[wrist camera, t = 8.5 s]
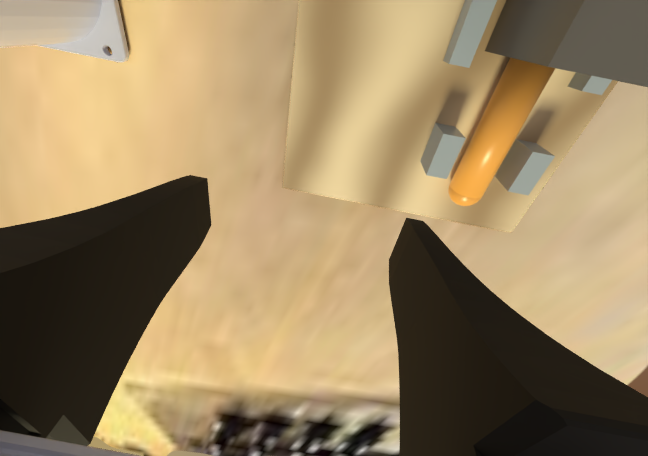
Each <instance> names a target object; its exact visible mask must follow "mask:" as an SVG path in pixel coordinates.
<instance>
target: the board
mask: <svg viewBox="0 0 648 456" xmlns="http://www.w3.org/2000/svg"><path fill="white" fill-rule="evenodd" d="M464 2H465V0H299V4H298V15H297V27H296V38H295V49H294V61H293V72H292V83H291V95H290V106H289V117H288V129H287V140H286V151H285V163H284V174H283V185H282V188H286V189H291V190H296V191H301V192H306V193H311V194H316V195H321V196H326V197H331V198H336V199H341V200H346V201H351V202H356V203H362V204H367V205H372V206H377V207H382V208H387V209H392V210H397V211H402V212H407V213H412V214H417V215H422V216H427V217H432V218H438V219H443V220H448V221H453V222H458V223H463V224H468V225H473V226H478V227H483V228H488V229H493V230H498V231H503V232H508V233H511V232H512V231H513V230H514V228H515V227H516V225H517V224H518V223H519V221H520V220H521V218H522V217H523V215H524V214H525V213H526V211H527V210H528V208H529V207H530V205H531V204H532V203H533V201H534V200H535V198H536V197H537V196H538V194H539V193H540V191H541V190H542V188H543V187H544V186H545V184H546V183H547V181H548V180H549V179H550V177H551V176H552V174H553V173H554V171H555V170H556V169H557V167H558V166H559V164H560V163H561V161H562V160H563V159H564V157H565V156H566V154H567V153H568V152H569V150H570V149H571V147H572V146H573V144H574V143H575V142H576V140H577V139H578V137H579V136H580V135H581V133H582V132H583V130H584V129H585V127H586V126H587V125H588V123H589V122H590V120H591V119H592V118H593V116H594V115H595V113H596V112H597V110H598V109H599V108H600V106H601V105H602V103H603V102H604V100H605V99H606V98H607V96H608V95H609V93H610V92H611V91H612V89H613V88H614V86H615V85H616V83H617V82H618V81H615V80H612V81H611V83H610V84H609V85H608V87H607V88H606V90H605V91H604V93H603V94H602V95H598V94H593V93H589V92H584V91H580V90H577V89H574V88H570V87H567V86H568V85H569V83H570V81H571V80H572V78H573V76H574V75H575V73H576V72H571V71H566V70H562V69H557V68H555V70H554V72H553V74H552V75H551V77H550V79H549V81H548V82H547V84H546V86H545V88H544V90H543V91H542V93H541V95H540V97H539V98H538V100H537V102H536V104H535V105H534V107H533V109H532V111H531V112H530V114H529V116H528V118H527V119H526V121H525V123H524V125H523V126H522V128H521V130H520V132H519V133H518V135H517V137H516V139H518V140H523V141H528V142H533V143H537V144H538V145H540V146H541V147H543V148H544V149H545V150H547V151H548V152H550V153H551V154H553V155H554V156H555V157H554V159H553V160H552V162H551V163H550V165H549V166H548V167H547V169H546V170H545V172H544V173H543V175H542V176H541V178H540V179H539V181H538V182H537V184H536V185H535V187H534V188H533V189H532V191H531V192H530V194H529V195H523V194H518V193H513V192H508V191H507V190H506V189H505V187H504V186H503V185H502V184H501V183H500V182H499V180H498V179H497V178H496V177H495V175H496V174H495V175H494V177H493V179H492V181H491V182H490V184H489V186H488V188H487V189H486V191H485V193H484V195H483V196H482V198H481V199H480V200H479V201H478V202H477V203H475V204H473V205H470V206H460V205H457V204H456V203H454V202H453V201H452V200H451V198H450V196H449V193H448V189H449V185H450V183H451V181H452V178H453V176H454V174H455V172H456V170H457V168H458V166H459V164H460V162H461V160H462V158H463V155H464V153H465V151H466V149H467V147H468V145H469V143H470V141H471V139H472V137H473V134H474V132H475V130H476V128H477V126H478V124H479V122H480V120H481V118H482V116H483V114H484V111H485V109H486V107H487V105H488V103H489V101H490V99H491V97H492V95H493V93H494V91H495V88H496V86H497V84H498V82H499V80H500V78H501V76H502V74H503V72H504V70H505V68H506V65H507V63H508V61H509V59H510V57H506V56H502V55H498V54H494V53H490V52H486V51H485V49H486V47H487V44H488V42H489V40H490V37H491V35H492V33H493V30H494V28H495V25H496V23H497V21H498V18H499V16H500V14H501V11H502V9H503V7H504V4H505V2H506V0H497V2H496V4H495V7H494V9H493V11H492V14H491V16H490V19H489V21H488V24H487V26H486V28H485V31H484V33H483V36H482V38H481V41H480V43H479V45H478V48H477V50H476V53H475V55H474V57H473V60H472V62H471V65H470V67H469V68H467V67H462V66H457V65H452V64H448V63H446V62H444V61H443V60H444V57H445V54H446V52H447V49H448V46H449V43H450V41H451V38H452V35H453V32H454V29H455V27H456V24H457V21H458V18H459V16H460V13H461V10H462V7H463V4H464ZM435 123H439V124H444V125H449V126H454V127H456V128H457V129H458V130H459V131H460V132H461V133H462V134H463V136H464V137H465V138H466V139H465V141H464V143H463V146H462V148H461V150H460V152H459V154H458V156H457V158H456V161H455V163H454V165H453V167H452V169H451V171H450V173H449V175H448V178H447V179H443V178H438V177H433V176H428V175H426V173H425V171H424V169H423V166H422V164H421V162H420V161H421V158H422V156H423V153H424V151H425V148H426V145H427V143H428V140H429V138H430V135H431V133H432V130H433V128H434V125H435ZM516 139H515V140H516ZM515 140H514V142H515ZM514 142H513V144H514ZM513 144H512V145H513ZM511 147H512V146H511ZM511 147H510V149H511ZM510 149H509V151H510ZM509 151H508V152H509ZM507 154H508V153H507ZM507 154H506V156H507ZM506 156H505V158H506ZM505 158H504V159H505ZM503 161H504V160H503ZM503 161H502V163H503ZM502 163H501V165H502ZM501 165H500V166H501ZM499 168H500V167H499ZM499 168H498V170H499ZM498 170H497V172H498ZM497 172H496V173H497Z"/></svg>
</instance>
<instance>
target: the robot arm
mask: <svg viewBox="0 0 648 456" xmlns="http://www.w3.org/2000/svg"><path fill="white" fill-rule="evenodd" d="M33 45H36V46H41V47H46V48H51V49H56V50H61V51H66V52H71V53H75V54H80V55H85V56H90V57H95V58H100V59H105V60H110V61H115V62H126V61H127V60H128V59H129V51H128V46H127V42H126V37H125V32H124V27H123V22H122V18H121V13H120V8H119V3H118V0H0V48H7V47H20V46H33ZM108 46H109V47H110V48H111V50H112V54H110V53H109V51H108ZM210 226H211V216H210V205H209V193H208V182H207V178H202V177H197V176H192V175H189V176H185V177H182V178H179V179H176V180H173V181H170V182H167V183H164V184H162V185H159V186H156V187H153V188H151V189H148V190H145V191H142V192H140V193H137V194H134V195H131V196H128V197H125V198H122V199H119V200H116V201H113V202H110V203H107V204H104V205H101V206H97V207H94V208H90V209H87V210H83V211H80V212H76V213H72V214H67V215H63V216H59V217H55V218H51V219H46V220H41V221H36V222H31V223H25V224H20V225H15V226H10V227H5V228H0V456H139V455H133V454H128V453H122V452H116V451H111V450H106V449H100V448H95V447H89V446H88V445H89V444H90V443H91V441H92V438H93V436H94V434H95V431H96V429H97V427H98V425H99V422H100V420H101V418H102V416H103V414H104V411H105V409H106V407H107V405H108V403H109V400H110V398H111V396H112V394H113V392H114V390H115V388H116V385H117V383H118V381H119V379H120V377H121V375H122V373H123V371H124V369H125V367H126V365H127V363H128V361H129V359H130V357H131V355H132V353H133V351H134V350H135V348H136V346H137V344H138V342H139V340H140V338H141V336H142V335H143V333H144V331H145V329H146V327H147V325H148V324H149V322H150V320H151V318H152V317H153V315H154V313H155V311H156V310H157V308H158V306H159V305H160V303H161V302H162V300H163V298H164V297H165V295H166V294H167V293H168V291H169V290H170V288H171V287H172V286H173V284H174V283H175V281H176V280H177V279H178V277H179V276H180V275H181V273H182V272H183V270H184V269H185V268H186V266H187V265H188V263H189V262H190V261H191V259H192V258H193V256H194V255H195V254H196V252H197V251H198V249H199V248H200V246H201V244H202V242H203V241H204V239H205V237H206V235H207V233H208V231H209V229H210ZM389 286H390V293H391V301H392V307H393V314H394V321H395V328H396V335H397V343H398V354H399V382H400V456H648V397H646V396H644V395H643V394H641V393H639V392H637V391H636V390H634V389H632V388H631V387H629V386H627V385H626V384H624V383H622V382H620V381H619V380H617V379H615V378H614V377H612V376H610V375H608V374H607V373H605V372H603V371H601V370H600V369H598V368H597V367H595V366H593V365H592V364H590V363H589V362H587V361H586V360H584V359H582V358H581V357H579V356H578V355H576V354H575V353H573V352H572V351H570V350H569V349H567V348H565V347H564V346H562V345H561V344H560V343H558V342H557V341H555V340H554V339H552V338H551V337H549V336H548V335H546V334H545V333H544V332H542V331H541V330H540V329H538V328H537V327H536V326H534V325H533V324H531V323H530V322H529V321H527V320H526V319H525V318H523V317H522V316H521V315H519V314H518V313H517V312H516V311H514V310H513V309H512V308H510V307H509V306H508V305H507V304H506V303H505V302H503V301H502V300H501V299H500V298H499V297H497V296H496V295H495V294H494V293H493V292H492V291H490V290H489V289H488V288H487V287H486V286H485V285H484V284H483V283H482V282H481V281H480V280H479V279H478V278H476V277H475V276H474V275H473V274H472V273H471V272H470V271H469V270H468V269H467V268H466V267H465V266H464V265H463V264H462V263H461V262H460V260H459V259H458V258H457V257H456V256H455V255H454V254H453V253H452V252H451V251H450V250H449V249H448V247H447V246H446V245H445V244H444V243H443V242H442V241H441V240H440V239H439V237H438V236H437V235H436V234H435V233H434V232H433V231H432V230H431V229H430V227H429V226H428V225H427V224H426V223H425V222H423V221H420V220H415V219H410V218H406V220H405V222H404V225H403V227H402V230H401V232H400V234H399V237H398V239H397V242H396V244H395V247H394V249H393V252H392V254H391V256H390V259H389Z"/></svg>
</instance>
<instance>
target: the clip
mask: <svg viewBox="0 0 648 456" xmlns="http://www.w3.org/2000/svg"><path fill="white" fill-rule="evenodd" d="M465 139H466V138H465V137H464V136H463V134H462V133H461V132H460V131H459V130H458V129H457V128H456V127H454V126H449V125H444V124H439V123H435V125H434V128H433V130H432V133H431V135H430V138H429V140H428V143H427V145H426V148H425V151H424V153H423V156H422V158H421V161H420V162H421V164H422V166H423V169H424V171H425V173H426V175H428V176H433V177H438V178H443V179H447V178H448V175H449V173H450V171H451V169H452V167H453V165H454V163H455V161H456V158H457V156H458V154H459V152H460V150H461V148H462V146H463V143H464V141H465ZM554 157H555V156H554V155H553V154H551V153H550V152H548V151H547V150H545V149H544V148H543V147H541V146H540V145H538V144H537V143H533V142H528V141H523V140H518V139H516V140H515V142H514V144H513V145H512V147H511V149H510V151H509V152H508V154H507V156H506V158H505V159H504V161H503V163H502V165H501V166H500V168H499V170H498V172H497V173H496V175H495V177H496V178H497V179H498V180H499V182H500V183H501V184H502V185H503V186H504V187H505V189H506V190H507V191H508V192H513V193H518V194H523V195H529V194H530V192H531V191H532V189H533V188H534V187H535V185H536V184H537V182H538V181H539V179H540V178H541V176H542V175H543V173H544V172H545V170H546V169H547V167H548V166H549V165H550V163H551V162H552V160H553V159H554Z"/></svg>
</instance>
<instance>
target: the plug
mask: <svg viewBox="0 0 648 456" xmlns="http://www.w3.org/2000/svg"><path fill="white" fill-rule="evenodd" d="M485 51H486V52H490V53H494V54H498V55H502V56H506V57H510V59H509V61H508V63H507V65H506V68H505V70H504V72H503V74H502V76H501V78H500V80H499V82H498V84H497V86H496V88H495V91H494V93H493V95H492V97H491V99H490V101H489V103H488V105H487V107H486V109H485V111H484V114H483V116H482V118H481V120H480V122H479V124H478V126H477V128H476V130H475V132H474V134H473V137H472V139H471V141H470V143H469V145H468V147H467V149H466V151H465V153H464V155H463V158H462V160H461V162H460V164H459V166H458V168H457V170H456V172H455V174H454V176H453V178H452V181H451V183H450V185H449V189H448V193H449V196H450V198H451V200H452V201H453V202H454V203H456V204H457V205H460V206H470V205H473V204H475V203H477V202H478V201H479V200H480V199H481V198H482V196H483V195H484V193H485V191H486V189H487V188H488V186H489V184H490V182H491V181H492V179H493V177H494V175H495V174H496V172H497V170H498V168H499V167H500V165H501V163H502V161H503V160H504V158H505V156H506V154H507V153H508V151H509V149H510V147H511V146H512V144H513V142H514V140H515V139H516V137H517V135H518V133H519V132H520V130H521V128H522V126H523V125H524V123H525V121H526V119H527V118H528V116H529V114H530V112H531V111H532V109H533V107H534V105H535V104H536V102H537V100H538V98H539V97H540V95H541V93H542V91H543V90H544V88H545V86H546V84H547V82H548V81H549V79H550V77H551V75H552V74H553V72H554V70H555V68H557V69H562V70H566V71H571V72H576V73H581V74H586V75H591V76H596V77H601V78H606V79H611V80H615V81H620V82H625V83H630V84H635V85H640V86H645V87H648V0H506V2H505V4H504V7H503V9H502V11H501V14H500V16H499V18H498V21H497V23H496V25H495V28H494V30H493V33H492V35H491V37H490V40H489V42H488V44H487V47H486V49H485Z"/></svg>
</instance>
